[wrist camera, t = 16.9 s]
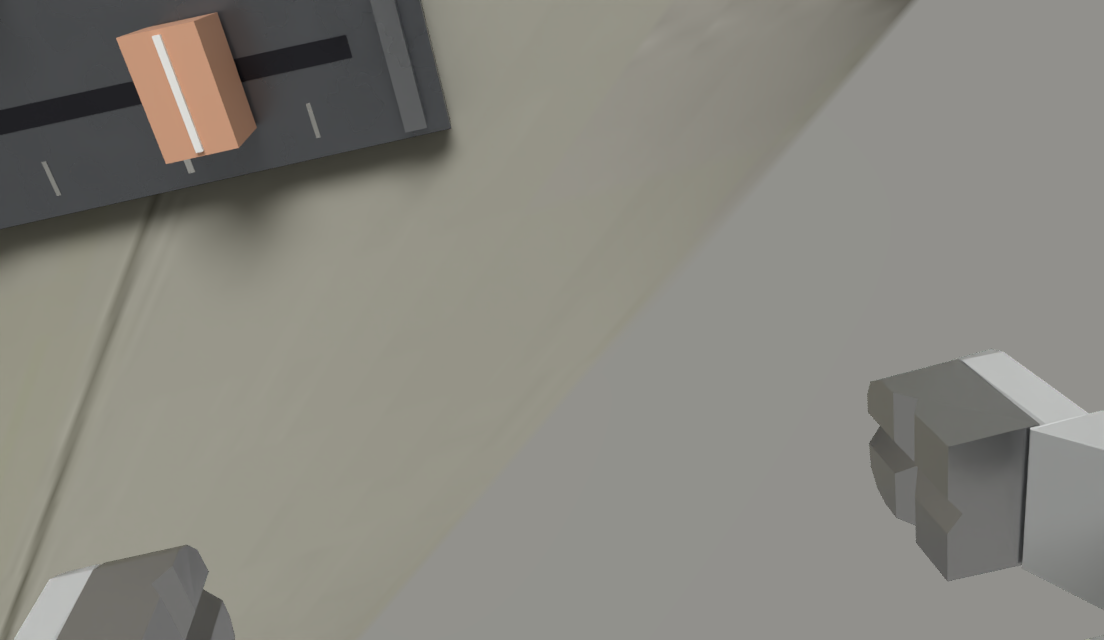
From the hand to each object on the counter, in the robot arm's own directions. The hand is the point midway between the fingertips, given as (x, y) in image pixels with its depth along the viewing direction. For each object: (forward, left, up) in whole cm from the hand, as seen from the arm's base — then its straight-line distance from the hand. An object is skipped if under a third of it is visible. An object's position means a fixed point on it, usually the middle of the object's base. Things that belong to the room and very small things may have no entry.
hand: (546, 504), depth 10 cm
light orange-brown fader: (+11, -3, -32) cm, 34 cm away
